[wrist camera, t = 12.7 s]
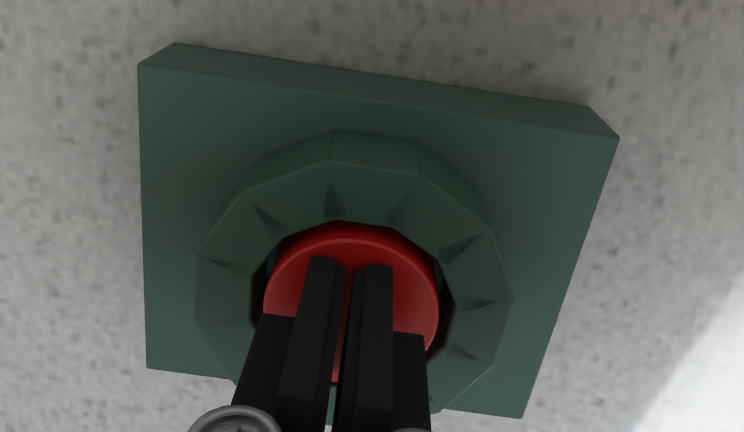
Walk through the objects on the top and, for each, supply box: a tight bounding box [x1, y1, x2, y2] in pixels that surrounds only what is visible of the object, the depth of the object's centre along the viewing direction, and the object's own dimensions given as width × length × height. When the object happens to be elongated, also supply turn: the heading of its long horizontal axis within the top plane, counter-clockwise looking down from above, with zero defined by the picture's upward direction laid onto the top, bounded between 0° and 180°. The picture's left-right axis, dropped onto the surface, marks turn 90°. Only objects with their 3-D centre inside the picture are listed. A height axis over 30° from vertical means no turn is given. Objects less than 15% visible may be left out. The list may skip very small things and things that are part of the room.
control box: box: [137, 43, 620, 425], centre depth 14 cm, size 10×8×4 cm
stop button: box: [263, 220, 439, 382], centre depth 13 cm, size 4×4×2 cm
